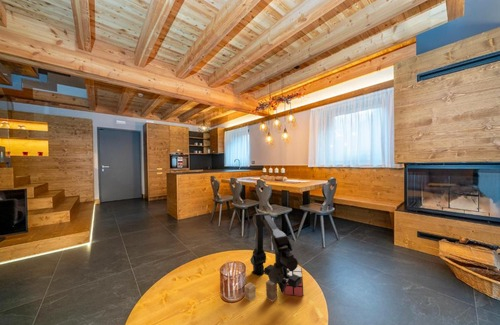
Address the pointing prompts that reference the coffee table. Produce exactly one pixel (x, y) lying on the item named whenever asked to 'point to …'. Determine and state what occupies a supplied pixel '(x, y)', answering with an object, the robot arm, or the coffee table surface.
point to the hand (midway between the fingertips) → (282, 292)
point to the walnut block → (271, 290)
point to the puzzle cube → (299, 288)
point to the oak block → (250, 291)
